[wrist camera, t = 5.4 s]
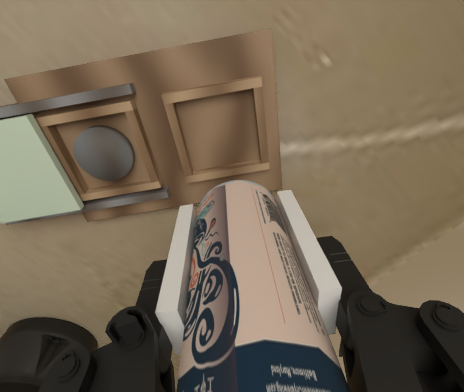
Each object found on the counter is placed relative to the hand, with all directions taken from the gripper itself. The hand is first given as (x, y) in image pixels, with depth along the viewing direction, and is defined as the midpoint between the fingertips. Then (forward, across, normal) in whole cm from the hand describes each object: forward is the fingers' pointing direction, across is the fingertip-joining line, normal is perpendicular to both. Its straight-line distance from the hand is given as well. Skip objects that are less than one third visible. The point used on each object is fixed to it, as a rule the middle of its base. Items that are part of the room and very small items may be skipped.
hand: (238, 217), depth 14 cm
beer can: (+1, 0, 0) cm, 1 cm away
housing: (+15, +11, -1) cm, 18 cm away
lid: (+12, +22, -1) cm, 25 cm away
